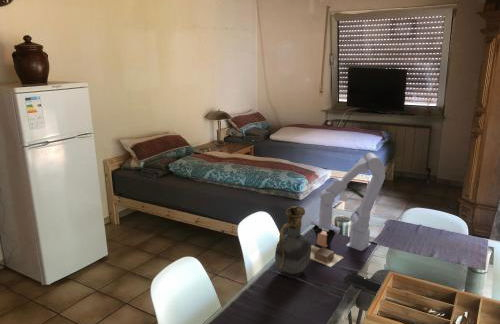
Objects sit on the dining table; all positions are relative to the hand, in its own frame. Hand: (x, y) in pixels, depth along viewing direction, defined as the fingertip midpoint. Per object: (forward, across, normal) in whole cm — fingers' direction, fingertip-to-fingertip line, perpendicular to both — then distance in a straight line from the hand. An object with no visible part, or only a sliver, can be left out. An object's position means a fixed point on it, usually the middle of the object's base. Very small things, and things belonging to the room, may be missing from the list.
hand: (323, 242), depth 188 cm
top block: (+2, 0, 0) cm, 2 cm away
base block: (+1, +7, -11) cm, 13 cm away
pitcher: (+2, +4, -31) cm, 31 cm away
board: (+1, +5, -10) cm, 11 cm away
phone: (+2, +29, -17) cm, 34 cm away
